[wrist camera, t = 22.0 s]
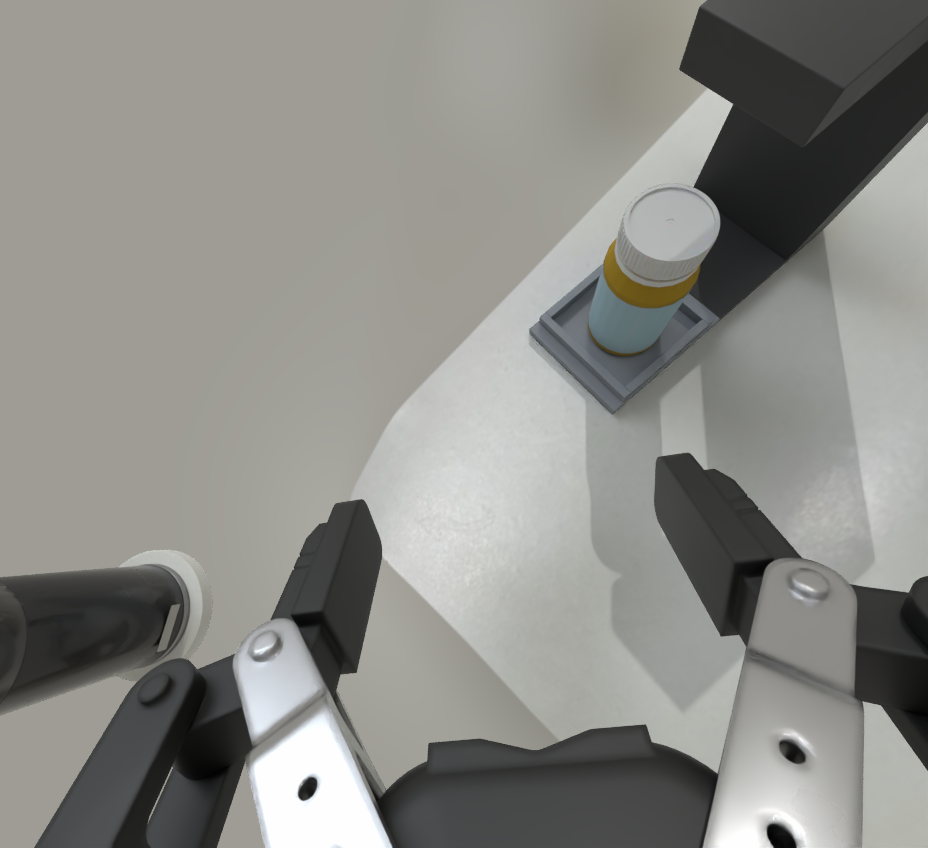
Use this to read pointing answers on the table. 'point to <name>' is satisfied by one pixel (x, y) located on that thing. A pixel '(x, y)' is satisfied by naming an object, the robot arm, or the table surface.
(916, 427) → the table surface
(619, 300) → the bottle
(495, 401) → the table surface
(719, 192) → the coffee maker
